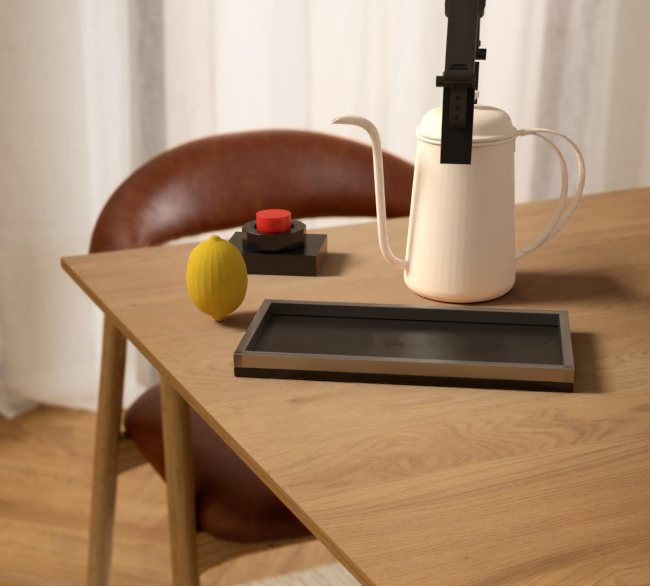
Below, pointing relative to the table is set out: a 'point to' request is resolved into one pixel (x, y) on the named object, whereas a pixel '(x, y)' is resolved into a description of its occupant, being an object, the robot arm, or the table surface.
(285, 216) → the button
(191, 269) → the lemon
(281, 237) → the button box
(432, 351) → the drip pan
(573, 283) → the table surface
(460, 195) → the coffeepot
